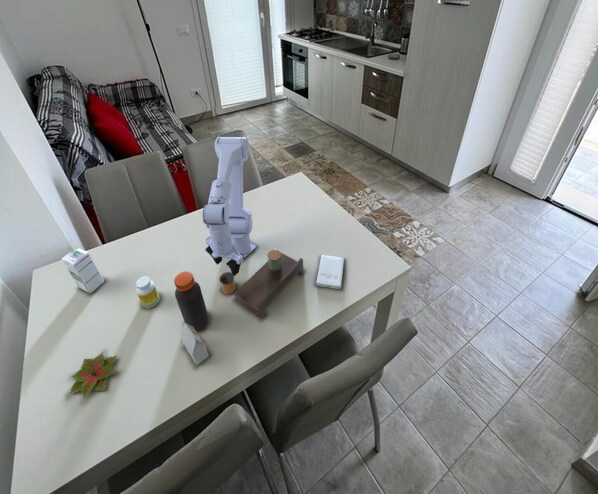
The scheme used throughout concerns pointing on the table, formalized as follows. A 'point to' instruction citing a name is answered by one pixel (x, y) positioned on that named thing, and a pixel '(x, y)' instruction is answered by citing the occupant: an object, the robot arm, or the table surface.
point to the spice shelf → (267, 285)
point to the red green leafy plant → (93, 374)
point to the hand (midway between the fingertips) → (227, 267)
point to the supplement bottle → (147, 292)
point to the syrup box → (83, 270)
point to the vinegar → (191, 301)
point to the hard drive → (330, 272)
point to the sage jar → (274, 260)
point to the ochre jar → (227, 283)
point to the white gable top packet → (194, 344)
